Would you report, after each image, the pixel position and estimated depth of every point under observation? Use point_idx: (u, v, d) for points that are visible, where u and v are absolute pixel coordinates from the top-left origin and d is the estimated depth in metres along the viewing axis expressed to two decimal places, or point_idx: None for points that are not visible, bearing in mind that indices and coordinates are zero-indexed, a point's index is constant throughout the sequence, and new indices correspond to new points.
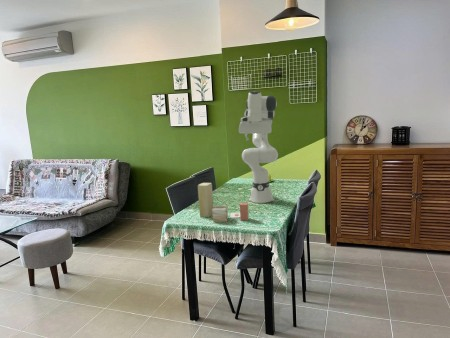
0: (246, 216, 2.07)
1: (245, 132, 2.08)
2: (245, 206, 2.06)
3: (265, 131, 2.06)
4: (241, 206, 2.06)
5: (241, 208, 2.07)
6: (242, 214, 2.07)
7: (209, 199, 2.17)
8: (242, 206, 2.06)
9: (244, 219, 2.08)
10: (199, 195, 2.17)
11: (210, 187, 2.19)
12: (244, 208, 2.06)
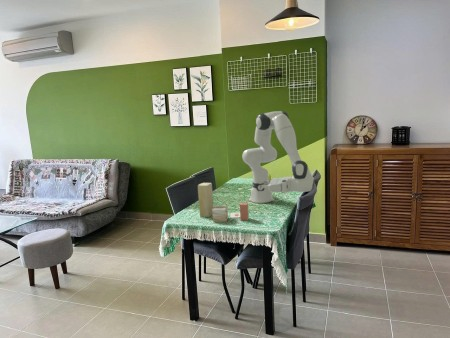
0: (246, 216, 2.07)
1: None
2: (245, 206, 2.06)
3: None
4: (241, 206, 2.06)
5: (241, 208, 2.07)
6: (242, 214, 2.07)
7: (209, 199, 2.17)
8: (242, 206, 2.06)
9: (244, 219, 2.08)
10: (199, 195, 2.17)
11: (210, 187, 2.19)
12: (244, 208, 2.06)
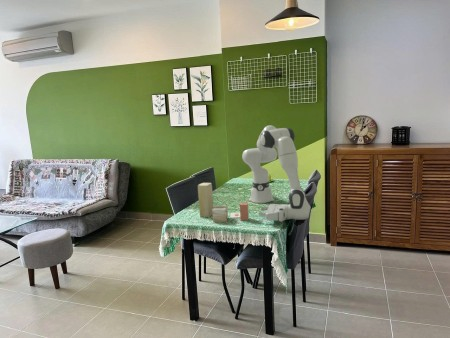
0: (246, 216, 2.07)
1: None
2: (245, 206, 2.06)
3: None
4: (241, 206, 2.06)
5: (241, 208, 2.07)
6: (242, 214, 2.07)
7: (209, 199, 2.17)
8: (242, 206, 2.06)
9: (244, 219, 2.08)
10: (199, 195, 2.17)
11: (210, 187, 2.19)
12: (244, 208, 2.06)
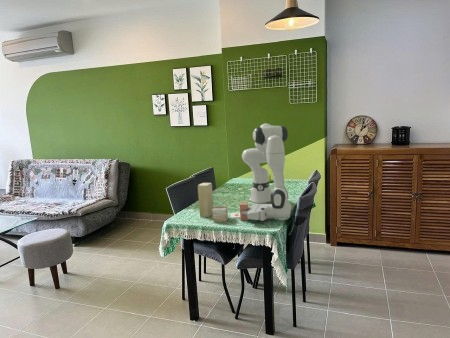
0: (246, 216, 2.07)
1: None
2: (245, 206, 2.06)
3: None
4: (241, 206, 2.06)
5: (241, 208, 2.07)
6: (242, 214, 2.07)
7: (209, 199, 2.17)
8: (242, 206, 2.06)
9: (244, 219, 2.08)
10: (199, 195, 2.17)
11: (210, 187, 2.19)
12: (244, 208, 2.06)
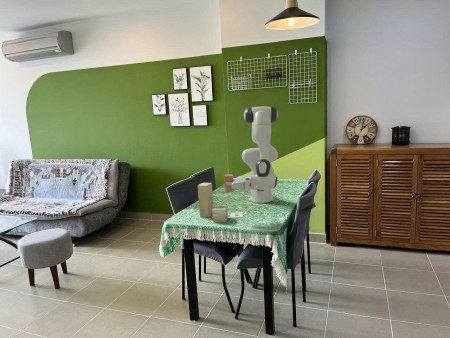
0: (231, 187, 2.04)
1: None
2: (230, 177, 2.03)
3: None
4: (226, 177, 2.04)
5: (226, 179, 2.04)
6: (227, 186, 2.04)
7: (209, 199, 2.17)
8: (227, 177, 2.03)
9: (229, 191, 2.05)
10: (199, 195, 2.17)
11: (210, 187, 2.19)
12: (229, 179, 2.03)
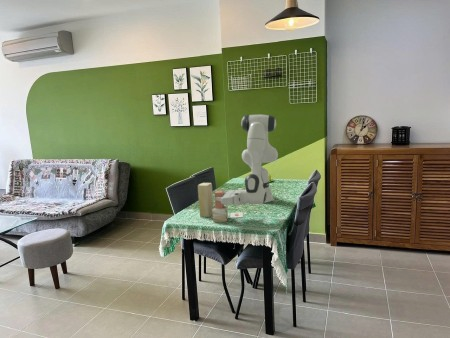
0: (221, 204, 2.07)
1: None
2: (219, 194, 2.06)
3: None
4: (216, 194, 2.07)
5: (216, 196, 2.07)
6: (217, 202, 2.08)
7: (209, 199, 2.17)
8: (217, 194, 2.06)
9: (219, 207, 2.08)
10: (199, 195, 2.17)
11: (210, 187, 2.19)
12: (219, 196, 2.06)
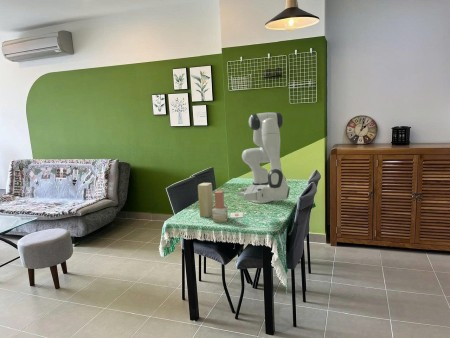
0: (221, 204, 2.07)
1: None
2: (219, 194, 2.06)
3: None
4: (216, 194, 2.07)
5: (216, 196, 2.07)
6: (217, 202, 2.08)
7: (209, 199, 2.17)
8: (217, 194, 2.07)
9: (219, 207, 2.08)
10: (199, 195, 2.17)
11: (210, 187, 2.19)
12: (219, 196, 2.06)
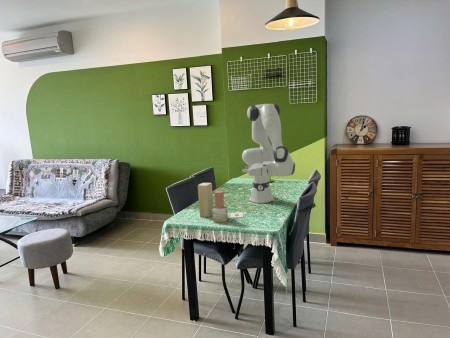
0: (221, 204, 2.07)
1: None
2: (219, 194, 2.06)
3: None
4: (216, 194, 2.07)
5: (216, 196, 2.07)
6: (217, 202, 2.08)
7: (209, 199, 2.18)
8: (217, 194, 2.07)
9: (219, 207, 2.08)
10: (199, 195, 2.17)
11: (210, 187, 2.19)
12: (219, 196, 2.06)
